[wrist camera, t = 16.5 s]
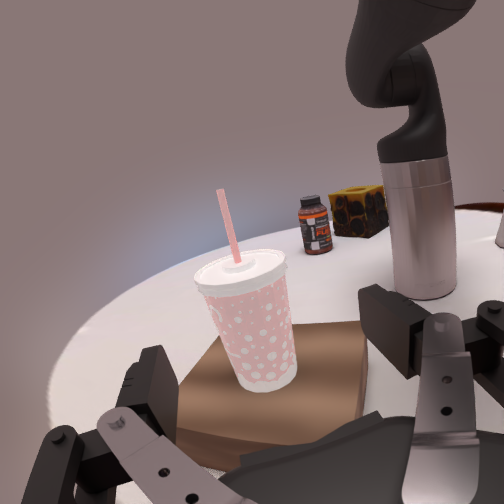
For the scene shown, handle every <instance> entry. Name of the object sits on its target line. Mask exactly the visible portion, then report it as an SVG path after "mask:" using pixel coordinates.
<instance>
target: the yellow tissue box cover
mask: <svg viewBox="0 0 504 504" xmlns="http://www.w3.org/2000/svg"><path fill="white" fill-rule="evenodd" d="M328 197H329V200H330V204H331V211H332V216H333V228H334V230H335V231H334V233H335V235H336V236H346V237H363V238H370V237H371V236H373V235H375V234H376V233H378V232H380V231H381V230H383V229H384V228H386V227H388V226H389V222H388V220H389V218H388V211H387V207H386V201H385V195H384V187H383V185H372V186H358V187H350V188H347V189H344V190H341V191H338V192H335V193H332V194H329V195H328Z"/></svg>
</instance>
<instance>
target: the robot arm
mask: <svg viewBox="0 0 504 504" xmlns="http://www.w3.org/2000/svg"><path fill="white" fill-rule="evenodd" d="M475 2H476V0H359V4H358V10H357V15H356V19H355V22H354V26H353V29H352V33H351V36H350V40H349V43H348V48H347V53H346V76H347V81H348V85H349V88H350V90H351V92H352V94H353V96H354V97H355V98H356V99H357V101H358V102H360V103H361V104H362V105H364V106H366V107H372V108H385V107H386V108H387V107H396V106H407V105H408V106H409V118H408V120H407V122H406V123H405V124H404V125H403V126H402V127H400V128H399V129H398V130H396V131H395V132H393V133H391V134H389V135H387V136H385V137H384V138H382V139H380V141H379V142H378V144H377V150H378V156H379V161H380V166H381V172H382V178H383V183H384V189H385V196H386V203H387V210H388V218H389V226H390V235H391V244H392V255H393V268H394V282H395V289H396V291H397V292H398V293H396V292H393V291H386V290H385V289H383V288H382V287H380V286H379V285H377V284H374V285H371V286H368V287H365V288H362V289H359V291H358V300H359V311H360V322H361V327H362V330H363V333H364V335H365V336H366V337H367V338H368V340H369V341H370V342H371V343H372V344H373V345H374V346H375V347H376V348H377V349H378V350H379V351H380V352H381V353H382V354H383V355H384V356H385V357H386V358H387V359H388V360H389V361H390V362H391V363H392V364H393V365H394V366H395V367H396V369H397V370H398V371H399V372H400V373H401V374H402V375H403V376H404V377H405V378H406V379H407V380H408V379H410V378H412V377H414V376H416V375H419V376H420V382H419V391H418V400H417V407H416V415H415V417H410V416H396V417H388V418H382V417H381V415H380V414H379V412H378V411H374V412H372V413H370V414H367V415H365V416H363V417H360V418H358V419H355V420H353V421H350V422H348V423H345V424H344V425H342V426H340V427H339V428H337V429H336V430H334V431H332V432H331V433H329V434H327V435H326V436H324V437H322V438H320V439H319V440H317V441H315V442H312V443H305V444H297V445H288V446H277V447H271V448H268V449H264V450H260V451H256V452H252V453H248V454H243V455H239V456H240V462H241V465H240V466H238V467H236V468H234V469H232V470H230V471H228V472H227V473H225V474H224V475H222V476H221V477H220V478H219V479H216V478H215V477H213V476H212V475H211V474H209V473H208V472H207V471H206V470H204V469H203V468H202V467H201V466H199V465H198V464H197V463H196V462H194V461H193V460H192V459H191V458H189V457H188V456H187V455H186V454H185V453H183V452H182V451H181V450H180V449H179V448H178V447H177V446H176V430H177V413H178V397H179V386H178V381H177V378H176V376H175V373H174V371H173V369H172V366H171V364H170V362H169V360H168V357H167V355H166V353H165V350H164V348H163V347H162V345H157V346H153V347H148V348H144V349H142V352H141V356H140V359H139V362H136V363H133V364H132V365H131V367H130V368H129V369H128V370H127V372H126V375H125V378H124V381H123V384H122V388H121V390H120V393H119V396H118V400H117V403H116V406H115V408H113V409H111V410H109V411H107V412H106V413H104V414H103V415H102V416H101V417H100V418H99V420H98V422H97V429H94V430H91V431H88V432H85V433H82V434H79V435H78V433H77V432H76V430H75V429H74V428H73V427H71V426H69V425H62V426H58V427H56V428H54V429H52V430H51V431H50V432H48V434H47V435H46V436H45V438H44V440H43V442H42V445H41V447H40V450H39V453H38V455H37V458H36V461H35V463H34V466H33V469H32V472H31V474H30V477H29V481H28V483H27V486H26V490H25V493H24V496H23V499H22V502H21V504H115V498H116V488H117V486H118V485H121V484H124V483H127V482H130V481H133V480H134V482H135V483H136V484H137V485H138V487H139V488H140V489H141V490H142V491H143V493H144V494H145V495H146V496H147V497H148V498H149V499H150V501H151V502H152V503H153V504H504V434H500V433H493V432H487V431H481V430H476V412H475V394H474V382H473V379H474V380H475V381H476V382H477V383H478V384H480V385H481V386H482V387H483V388H484V389H485V390H486V391H487V392H488V393H489V394H490V395H491V396H492V397H493V398H494V399H495V400H496V401H497V402H498V403H499V404H500V405H501V406H502V407H503V408H504V358H503V357H502V356H503V351H504V302H501V301H496V300H490V301H485V302H483V303H481V304H480V305H479V306H478V308H477V317H474V318H471V319H467V320H463V321H461V320H460V318H459V317H457V316H456V315H454V314H451V313H436V314H431V313H430V312H428V311H427V310H425V309H424V308H422V307H421V306H419V305H418V304H415V303H414V302H413V301H411V300H409V299H408V298H413V299H434V298H439V297H442V296H444V295H447V294H449V293H450V292H451V291H453V289H454V288H455V286H456V258H457V257H456V226H455V210H454V199H453V189H452V180H451V173H450V166H449V159H448V152H447V146H446V124H445V119H444V113H443V108H442V103H441V98H440V93H439V88H438V83H437V78H436V74H435V70H434V67H433V64H432V61H431V58H430V56H429V54H428V52H427V50H426V48H425V47H424V45H423V44H422V42H424V41H426V40H428V39H430V38H431V37H433V36H435V35H437V34H439V33H440V32H442V31H444V30H446V29H447V28H449V27H450V26H452V25H453V24H455V23H457V22H458V21H459V20H460V19H462V18H463V17H464V16H465V15H466V14H467V13H468V12H469V10H470V9H471V8H472V6H473V5H474V4H475ZM407 297H408V298H407ZM75 483H76V484H77V489H76V495H75V499H74V494H73V491H74V486H75Z"/></svg>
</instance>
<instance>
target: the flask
mask: <svg viewBox="0 0 504 504" xmlns="http://www.w3.org/2000/svg"><path fill="white" fill-rule="evenodd" d="M503 191H504V188H503ZM495 243H496V244H498V245H499V246H500V247H504V211H503V215H502V219H501V223H500V227H499V230H498V233H497V236H496V239H495Z"/></svg>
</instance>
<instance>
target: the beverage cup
mask: <svg viewBox="0 0 504 504" xmlns="http://www.w3.org/2000/svg"><path fill="white" fill-rule="evenodd" d="M216 192H217V196H218V199H219V203H220V207H221V211H222V215H223V219H224V223H225V227H226V231H227V235H228V239H229V243H230V247H231V250H232V254H233V255H229V256H226V257H223V258H221V259H218V260H215V261H213V262H211V263H209V264H207V265H206V266H204V267H202V268H201V269H200V270H199V271H198V272H197V273H196V274H195V277H194V281H195V284H196V285H197V286H198V291H199V292H200V293H202V294H203V295H204V297H205V300H206V303H207V305H208V308H209V310H210V313H211V315H212V318H213V320H214V323H215V325H216V328H217V330H218V333H219V335H220V338H221V340H222V343H223V345H224V348H225V350H226V352H227V355H228V357H229V360H230V362H231V364H232V367H233V369H234V371H235V374H236V376H237V378H238V381H239V383H240V384H241V385H242V386H243V387H244V388H245V389H246V390H249V391H252V392H270V391H274V390H277V389H280V388H282V387H284V386H285V385H287V384H288V383H290V382H291V380H292V379H293V378H294V377H295V376H296V372H297V361H296V353H295V345H294V338H293V330H292V323H291V315H290V308H289V301H288V294H287V286H286V279H285V272H286V270H287V265H286V263H285V262H286V256H285V255H284V254H283V252H282V251H278V250H273V249H258V250H252V251H245V252H239V248H238V244H237V240H236V237H235V233H234V229H233V225H232V221H231V217H230V213H229V209H228V205H227V201H226V197H225V193H224V189H219V190H216Z"/></svg>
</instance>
